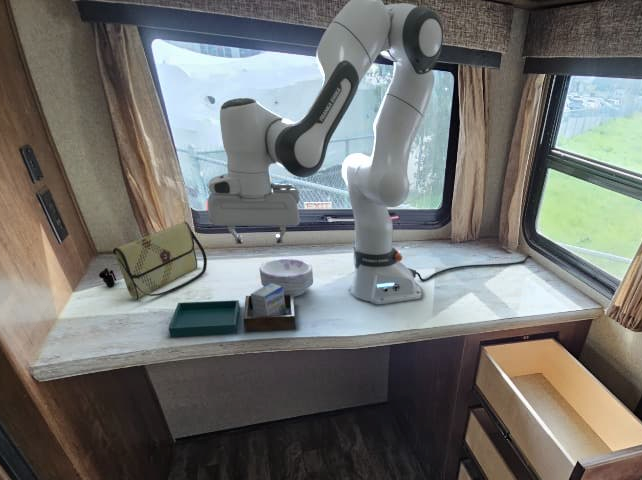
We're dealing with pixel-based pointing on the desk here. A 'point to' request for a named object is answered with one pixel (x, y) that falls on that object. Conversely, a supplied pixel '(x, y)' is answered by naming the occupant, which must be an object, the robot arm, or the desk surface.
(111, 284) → the wireless earbuds
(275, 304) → the medicine box
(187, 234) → the clutch purse
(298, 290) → the paper bowls
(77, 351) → the desk surface
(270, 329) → the wooden floating shelf
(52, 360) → the desk surface
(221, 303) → the tray
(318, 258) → the desk surface
